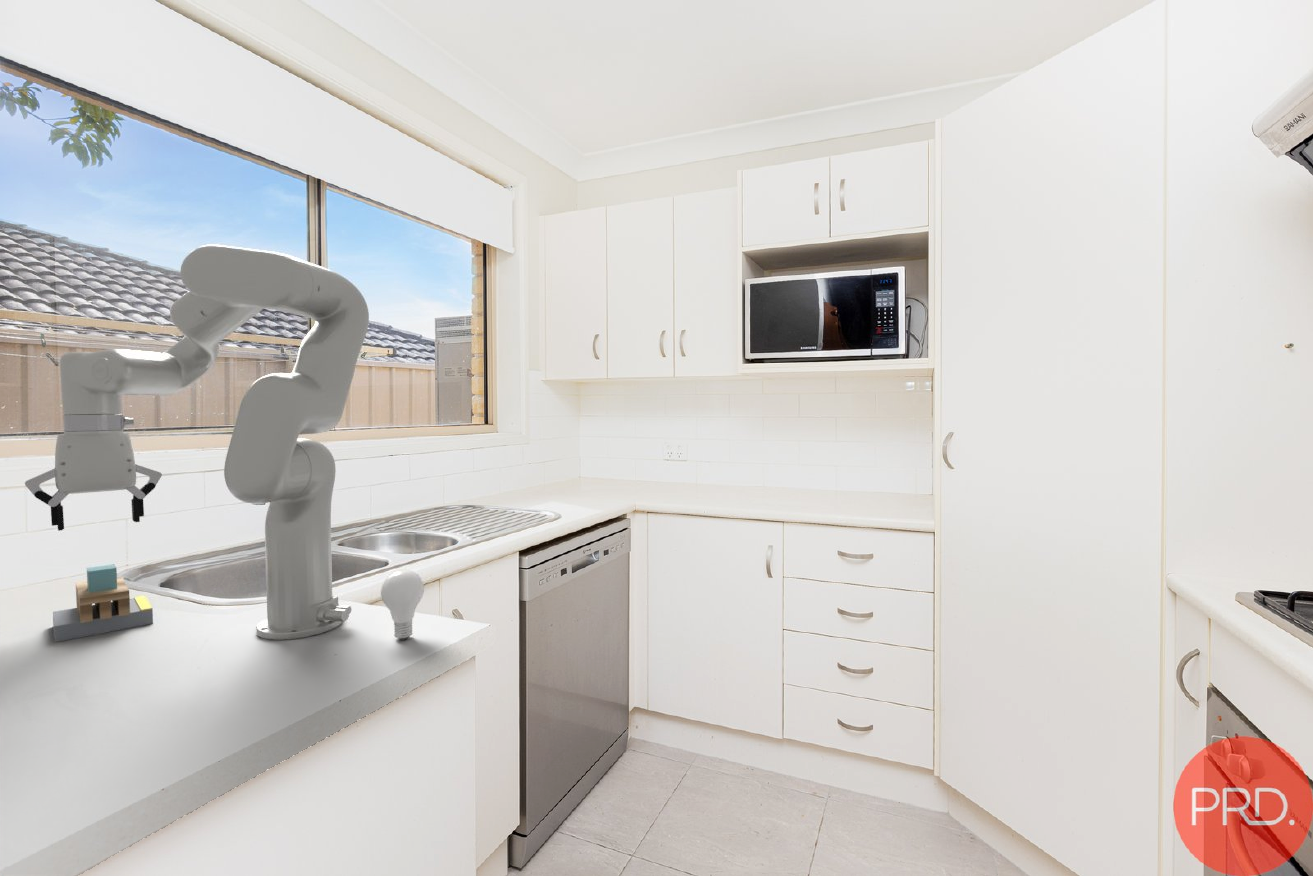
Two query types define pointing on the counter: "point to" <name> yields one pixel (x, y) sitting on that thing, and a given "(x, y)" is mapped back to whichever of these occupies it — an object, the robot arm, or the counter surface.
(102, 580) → the block
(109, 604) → the pallet
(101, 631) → the dock
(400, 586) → the lightbulb
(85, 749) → the counter surface
